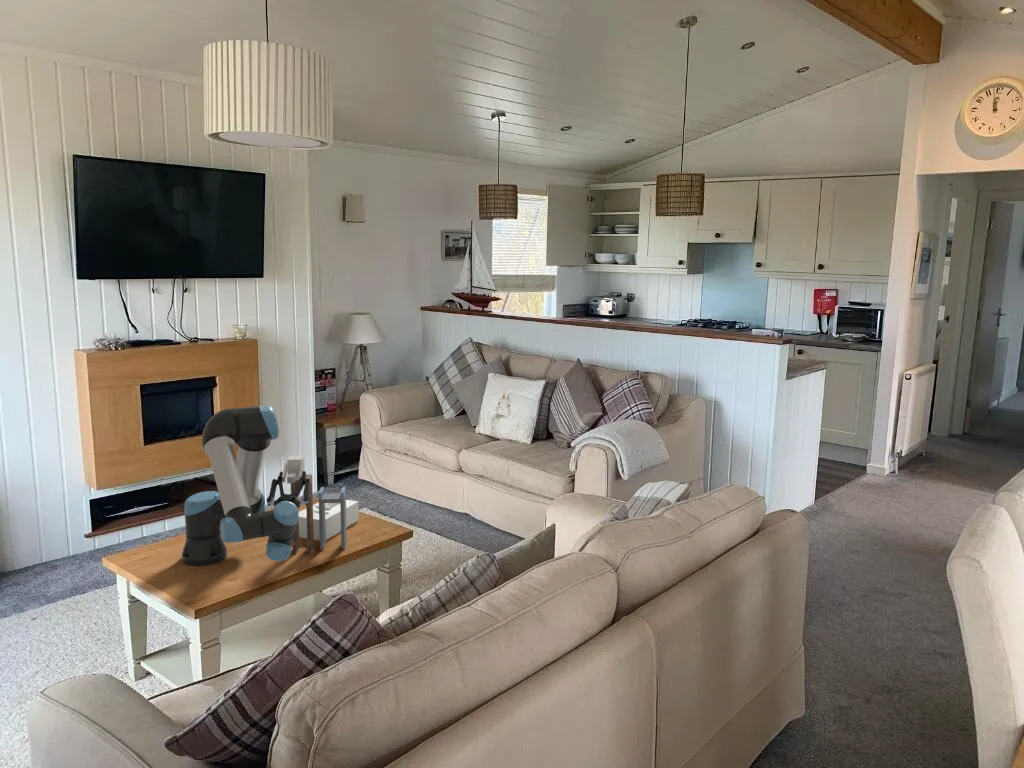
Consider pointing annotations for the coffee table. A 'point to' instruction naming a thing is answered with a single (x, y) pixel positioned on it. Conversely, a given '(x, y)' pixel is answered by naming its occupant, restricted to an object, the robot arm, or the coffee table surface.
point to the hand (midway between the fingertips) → (294, 465)
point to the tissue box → (329, 518)
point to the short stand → (322, 500)
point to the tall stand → (309, 520)
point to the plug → (294, 467)
